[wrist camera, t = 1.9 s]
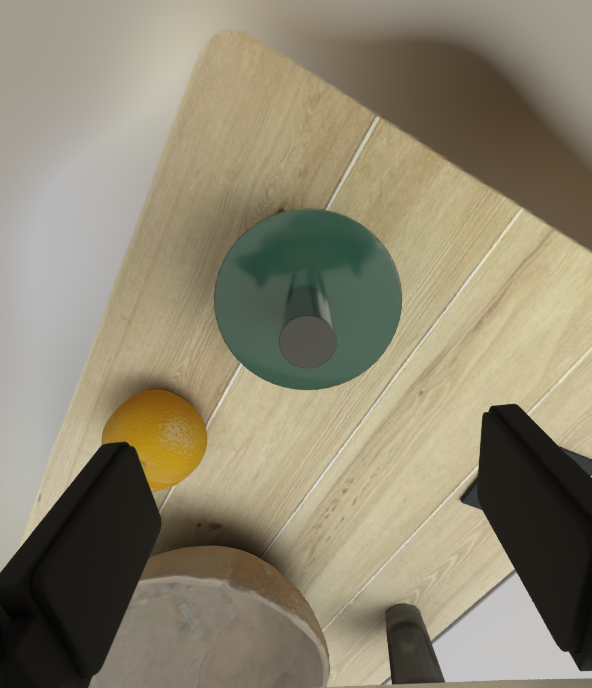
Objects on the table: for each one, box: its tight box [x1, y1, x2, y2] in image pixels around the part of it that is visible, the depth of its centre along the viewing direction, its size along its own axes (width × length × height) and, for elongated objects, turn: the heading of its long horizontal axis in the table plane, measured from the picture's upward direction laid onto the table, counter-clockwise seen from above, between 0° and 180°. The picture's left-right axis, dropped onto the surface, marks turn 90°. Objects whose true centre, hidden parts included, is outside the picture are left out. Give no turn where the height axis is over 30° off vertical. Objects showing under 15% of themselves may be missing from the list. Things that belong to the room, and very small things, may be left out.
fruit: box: [102, 389, 207, 491], centre depth 33 cm, size 9×8×8 cm
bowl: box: [90, 545, 330, 688], centre depth 42 cm, size 26×26×10 cm
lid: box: [214, 208, 402, 390], centre depth 21 cm, size 12×12×7 cm
